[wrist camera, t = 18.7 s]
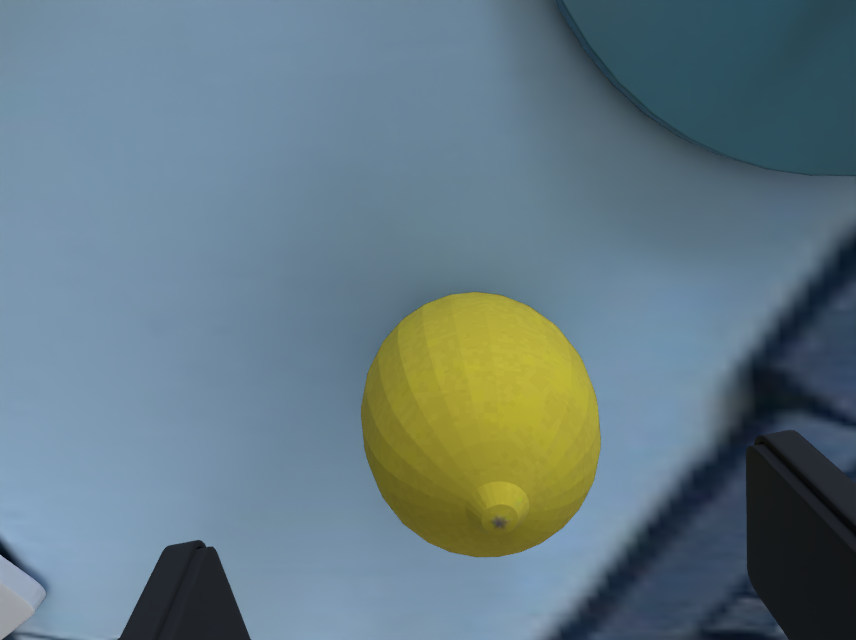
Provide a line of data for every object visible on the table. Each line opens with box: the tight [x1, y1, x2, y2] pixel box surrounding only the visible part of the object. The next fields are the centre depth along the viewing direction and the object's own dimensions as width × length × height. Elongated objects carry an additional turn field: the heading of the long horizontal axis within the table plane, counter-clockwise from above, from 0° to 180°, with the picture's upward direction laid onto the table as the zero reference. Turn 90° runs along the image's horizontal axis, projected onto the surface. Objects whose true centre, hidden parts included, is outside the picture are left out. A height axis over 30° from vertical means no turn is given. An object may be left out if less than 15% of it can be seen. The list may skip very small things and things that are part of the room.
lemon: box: [361, 292, 601, 557], centre depth 15 cm, size 6×6×8 cm
